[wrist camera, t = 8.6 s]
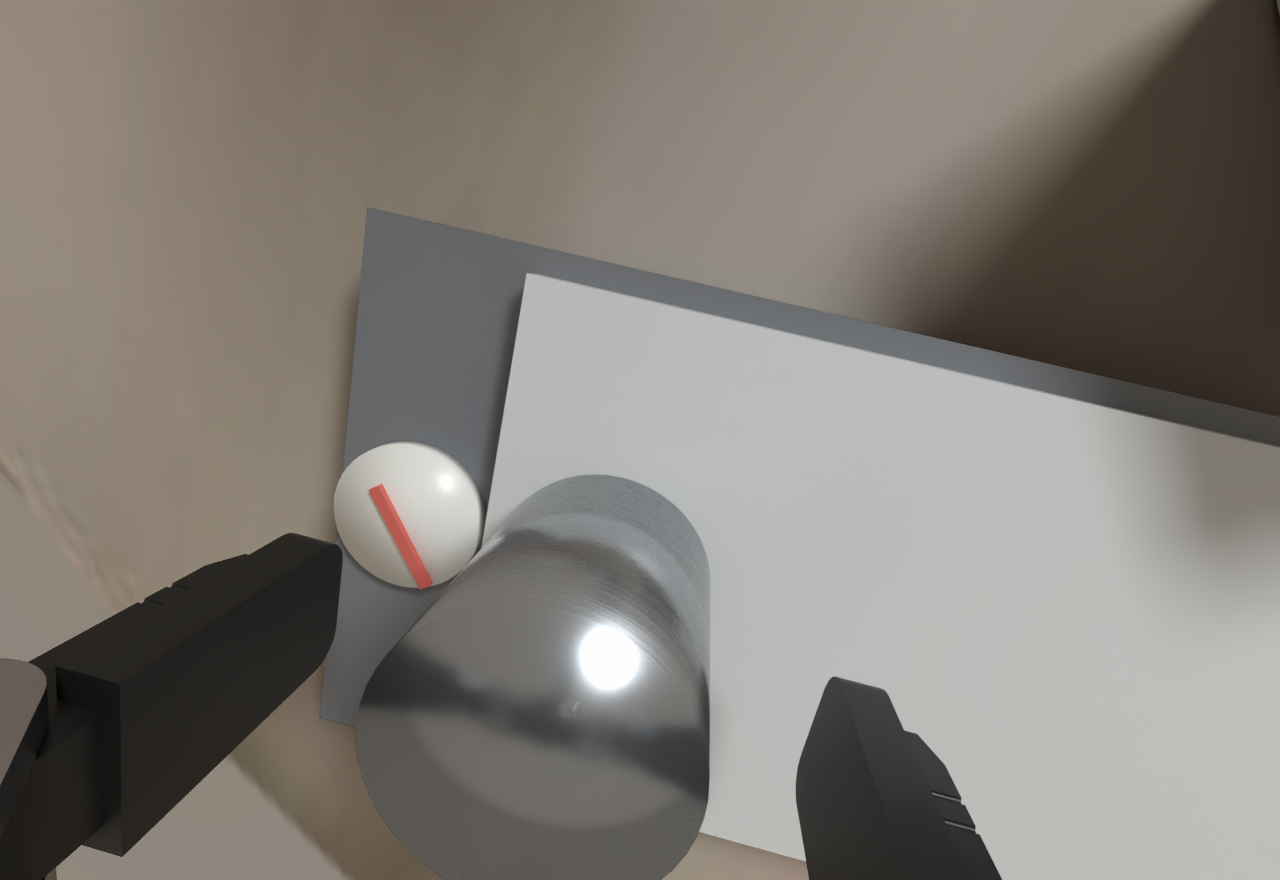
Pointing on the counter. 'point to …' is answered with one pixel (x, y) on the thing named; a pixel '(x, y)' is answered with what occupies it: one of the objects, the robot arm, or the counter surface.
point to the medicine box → (1279, 3)
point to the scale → (851, 540)
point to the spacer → (553, 697)
